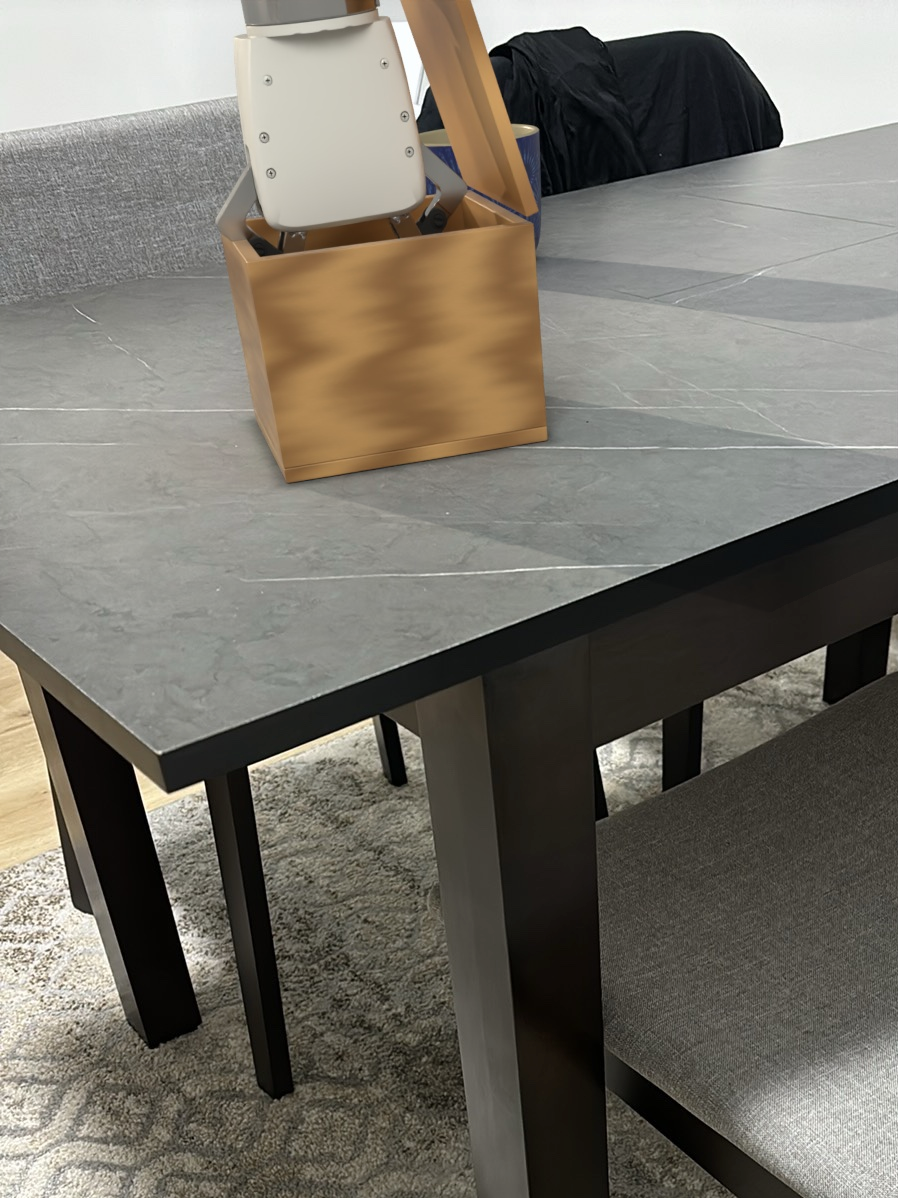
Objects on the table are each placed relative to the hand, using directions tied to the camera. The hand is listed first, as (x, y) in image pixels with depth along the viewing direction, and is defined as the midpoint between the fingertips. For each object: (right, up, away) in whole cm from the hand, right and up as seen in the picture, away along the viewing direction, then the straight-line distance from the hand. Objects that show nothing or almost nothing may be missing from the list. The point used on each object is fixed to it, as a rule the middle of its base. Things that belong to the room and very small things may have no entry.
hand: (363, 334), depth 89 cm
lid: (+5, +13, -8) cm, 17 cm away
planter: (+6, +27, +45) cm, 53 cm away
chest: (+2, -5, +4) cm, 6 cm away
